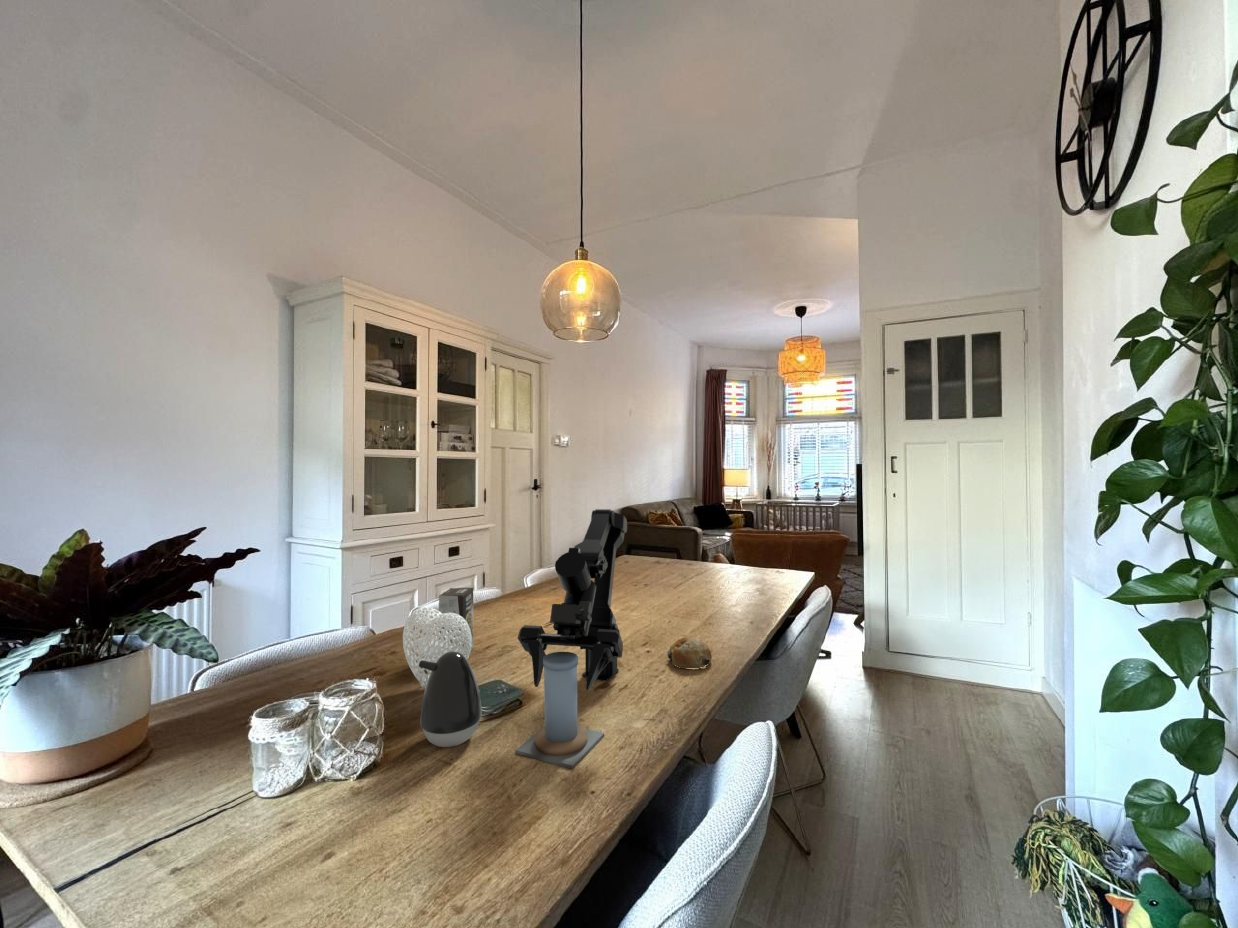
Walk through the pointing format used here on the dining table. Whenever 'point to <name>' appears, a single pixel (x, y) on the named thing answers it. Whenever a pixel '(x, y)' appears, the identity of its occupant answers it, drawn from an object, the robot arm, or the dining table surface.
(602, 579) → the robot arm
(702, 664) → the brown domed lump
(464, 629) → the decorative heart
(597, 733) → the grey brown domed tile
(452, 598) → the coffee box
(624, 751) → the dining table surface
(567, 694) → the canister
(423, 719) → the pump dispenser
